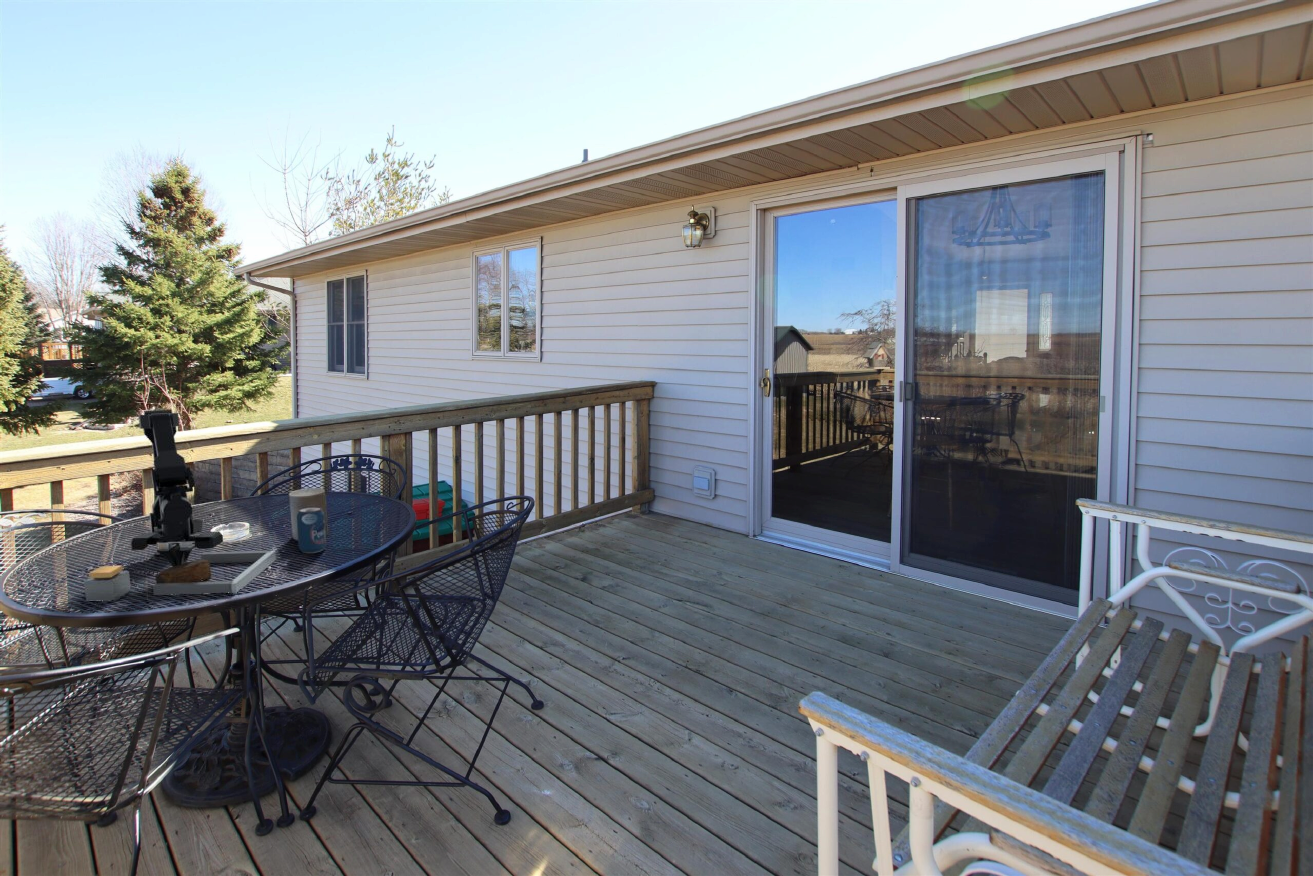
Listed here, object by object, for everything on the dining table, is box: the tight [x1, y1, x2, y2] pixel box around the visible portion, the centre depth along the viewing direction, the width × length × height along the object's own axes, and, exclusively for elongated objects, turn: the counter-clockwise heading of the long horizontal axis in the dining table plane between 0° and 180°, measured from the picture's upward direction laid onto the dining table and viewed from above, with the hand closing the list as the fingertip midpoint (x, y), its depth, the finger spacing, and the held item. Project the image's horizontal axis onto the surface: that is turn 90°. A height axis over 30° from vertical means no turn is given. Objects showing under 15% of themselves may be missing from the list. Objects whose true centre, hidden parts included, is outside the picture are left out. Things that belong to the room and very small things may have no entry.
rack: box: [152, 550, 277, 596], centre depth 175 cm, size 24×18×2 cm
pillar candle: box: [288, 487, 329, 541], centre depth 206 cm, size 10×10×15 cm
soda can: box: [297, 506, 327, 554], centre depth 195 cm, size 7×7×12 cm
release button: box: [88, 565, 124, 579], centre depth 161 cm, size 4×4×5 cm
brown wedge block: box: [155, 558, 212, 584], centre depth 170 cm, size 11×4×5 cm, turn 150°
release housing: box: [83, 570, 132, 602], centre depth 161 cm, size 6×6×5 cm
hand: (180, 573), depth 173 cm, fingers closed
